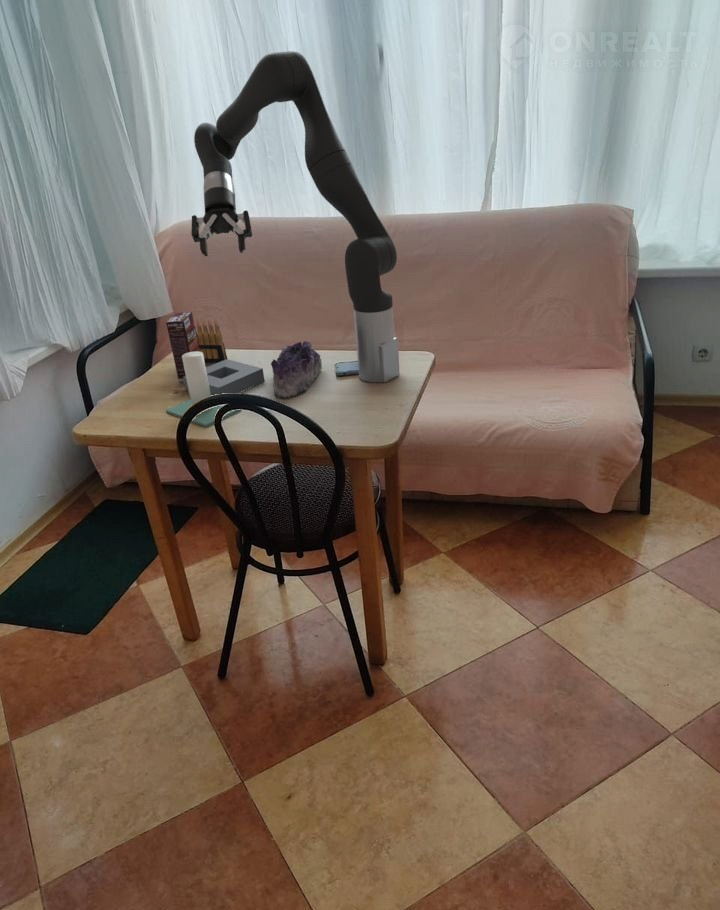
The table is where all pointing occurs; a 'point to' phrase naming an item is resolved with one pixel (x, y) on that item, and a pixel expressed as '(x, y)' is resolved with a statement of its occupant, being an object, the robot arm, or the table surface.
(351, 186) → the robot arm
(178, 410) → the mat
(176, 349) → the supplement box
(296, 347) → the geode
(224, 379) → the grey square socket block
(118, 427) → the table surface
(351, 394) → the table surface
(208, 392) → the plug
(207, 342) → the ammunition clip
